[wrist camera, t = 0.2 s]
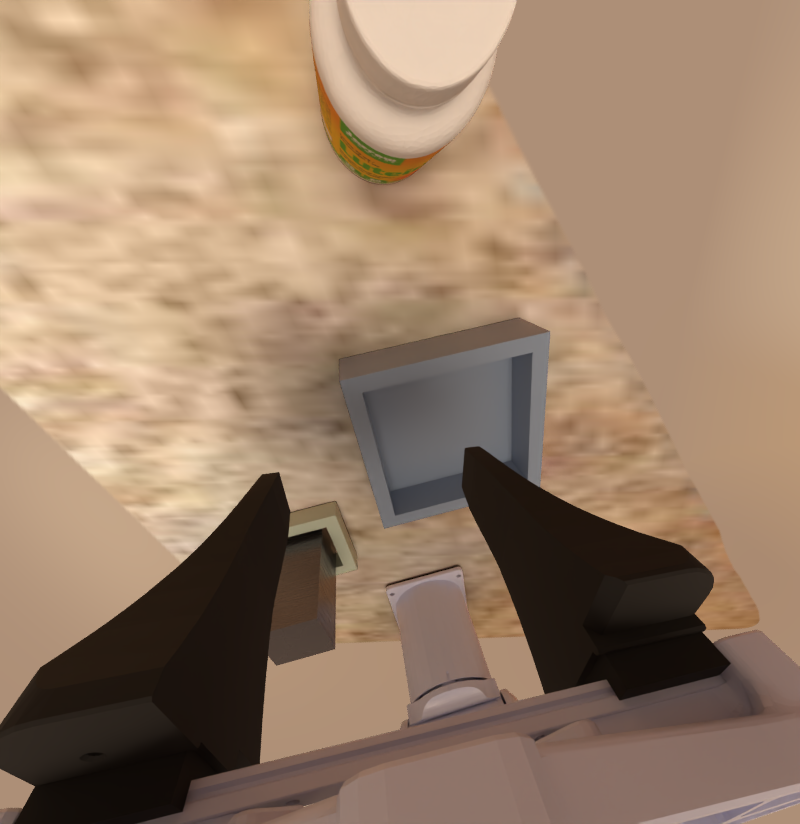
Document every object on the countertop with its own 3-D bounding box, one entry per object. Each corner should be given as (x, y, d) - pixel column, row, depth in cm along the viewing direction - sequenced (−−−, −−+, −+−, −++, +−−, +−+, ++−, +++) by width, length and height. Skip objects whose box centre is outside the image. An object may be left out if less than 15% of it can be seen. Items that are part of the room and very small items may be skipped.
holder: (356, 554, 29) (357, 569, 28) (281, 574, 29) (278, 590, 27) (335, 501, 26) (335, 515, 24) (249, 523, 25) (244, 538, 24)
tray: (517, 459, 27) (540, 487, 24) (378, 494, 26) (384, 528, 23) (519, 317, 21) (550, 331, 18) (339, 359, 20) (339, 381, 17)
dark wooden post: (336, 548, 28) (335, 649, 21) (292, 560, 28) (276, 665, 21) (322, 518, 26) (316, 618, 19) (275, 530, 26) (251, 636, 19)
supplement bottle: (326, 182, 16) (310, 119, 7) (314, 22, 13) (270, -367, 5) (431, 189, 16) (528, 137, 8) (440, 39, 14) (596, -264, 5)
